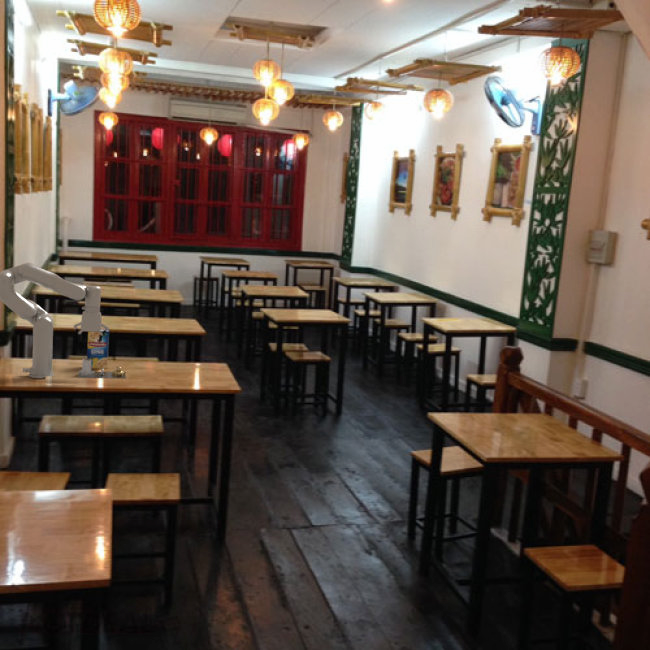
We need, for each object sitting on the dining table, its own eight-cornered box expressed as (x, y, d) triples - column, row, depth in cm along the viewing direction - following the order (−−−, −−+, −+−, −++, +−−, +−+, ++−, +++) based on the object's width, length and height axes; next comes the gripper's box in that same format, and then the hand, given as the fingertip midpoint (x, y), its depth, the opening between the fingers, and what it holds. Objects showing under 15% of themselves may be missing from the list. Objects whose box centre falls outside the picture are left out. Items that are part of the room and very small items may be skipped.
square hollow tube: (78, 376, 400) (79, 361, 399) (78, 373, 408) (78, 358, 407) (94, 376, 403) (95, 361, 402) (94, 373, 411) (94, 358, 409)
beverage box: (107, 370, 425) (109, 331, 423) (86, 370, 423) (88, 330, 420) (107, 368, 432) (109, 329, 429) (87, 367, 429) (88, 328, 426)
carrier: (78, 380, 397) (78, 369, 396) (78, 373, 412) (78, 363, 411) (126, 380, 404) (126, 370, 404) (124, 374, 419) (125, 364, 419)
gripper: (74, 309, 396) (72, 342, 398) (109, 311, 400) (107, 344, 402) (75, 307, 403) (73, 339, 405) (109, 309, 408) (107, 341, 410)
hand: (90, 342), depth 404 cm, fingers open, 9 cm apart
